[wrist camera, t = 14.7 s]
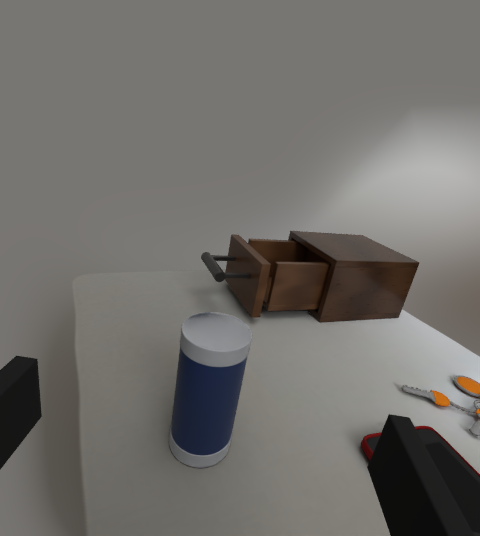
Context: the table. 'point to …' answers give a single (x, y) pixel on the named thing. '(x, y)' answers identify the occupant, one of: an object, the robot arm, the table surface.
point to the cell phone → (446, 471)
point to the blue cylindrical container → (208, 387)
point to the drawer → (271, 274)
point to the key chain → (440, 399)
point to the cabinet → (359, 277)
